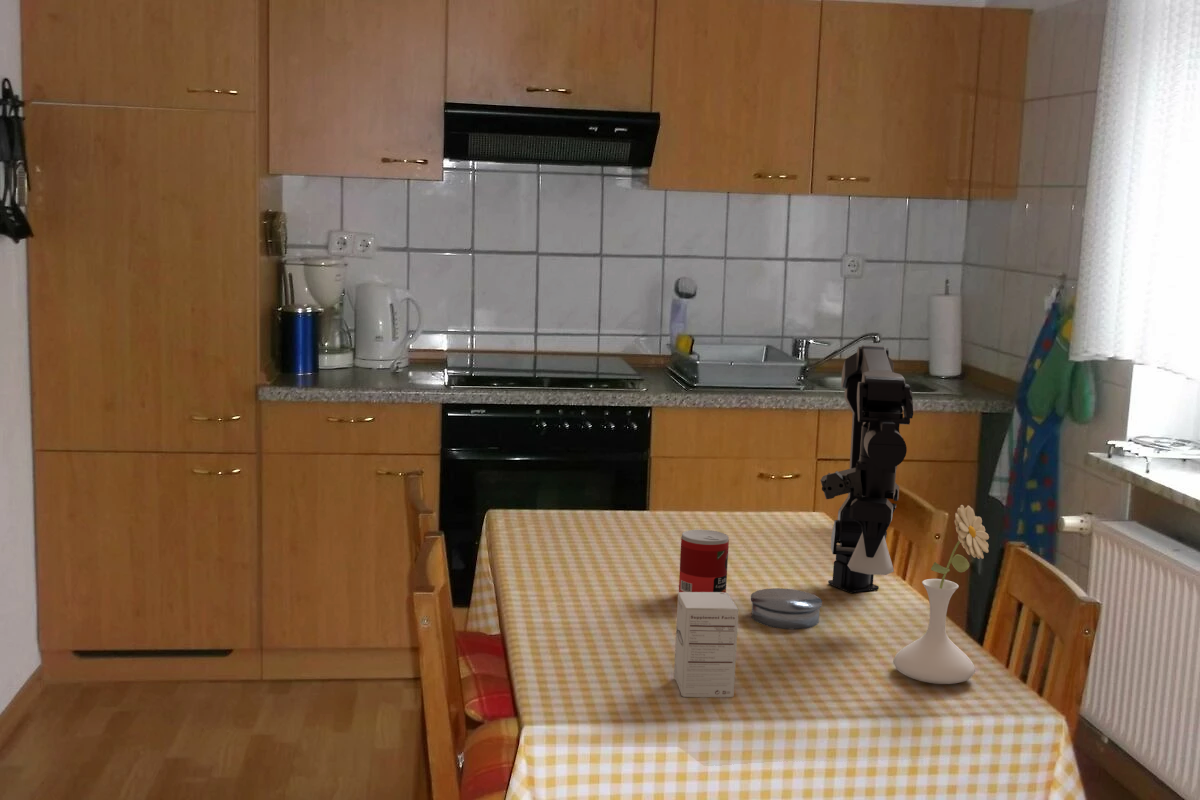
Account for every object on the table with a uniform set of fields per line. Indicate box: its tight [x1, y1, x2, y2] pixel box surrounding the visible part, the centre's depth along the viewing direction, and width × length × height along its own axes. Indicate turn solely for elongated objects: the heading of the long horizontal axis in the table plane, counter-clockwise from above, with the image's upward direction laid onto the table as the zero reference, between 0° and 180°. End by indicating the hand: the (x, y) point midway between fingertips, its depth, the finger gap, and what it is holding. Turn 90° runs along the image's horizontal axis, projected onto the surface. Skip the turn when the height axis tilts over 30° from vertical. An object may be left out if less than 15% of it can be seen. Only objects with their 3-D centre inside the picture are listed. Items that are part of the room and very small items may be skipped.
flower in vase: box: [892, 504, 990, 685], centre depth 184 cm, size 13×11×25 cm
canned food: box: [678, 529, 730, 593], centre depth 218 cm, size 8×8×11 cm
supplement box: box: [673, 591, 739, 698], centre depth 177 cm, size 7×7×13 cm
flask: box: [848, 532, 895, 576], centre depth 204 cm, size 7×7×10 cm
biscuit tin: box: [750, 587, 823, 630], centre depth 210 cm, size 11×11×4 cm
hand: (871, 552), depth 205 cm, fingers closed on flask, 5 cm apart
